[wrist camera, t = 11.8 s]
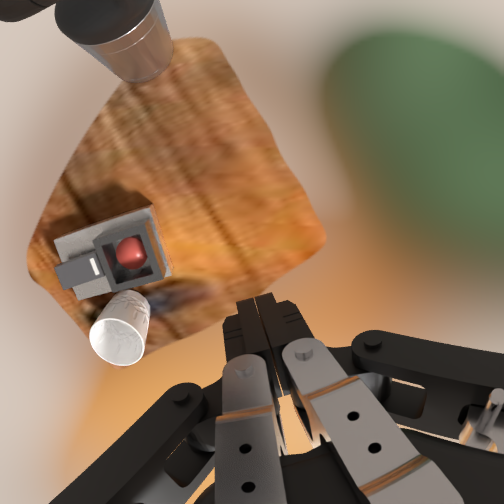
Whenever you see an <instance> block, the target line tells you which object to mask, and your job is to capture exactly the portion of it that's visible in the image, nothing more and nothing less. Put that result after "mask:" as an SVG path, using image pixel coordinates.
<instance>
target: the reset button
mask: <svg viewBox="0 0 504 504" xmlns="http://www.w3.org/2000/svg"><path fill="white" fill-rule="evenodd" d="M116 257H117V259H118V261H119V263H120V264H121V265H122V266H123V267H125V268H127V269H132V270H133V269H138V268H140V267H142V266H143V265H144V263H145V262H146V260H147V258H148V256H147V254H146V251H145V248H144V245H143V242H142V239H141V237H139V236H136V235H134V236H130V237H127V238H124V239H122V241H121V242H120V243H119V244H118V246H117V248H116Z"/></svg>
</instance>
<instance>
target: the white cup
mask: <svg viewBox="0 0 504 504" xmlns="http://www.w3.org/2000/svg"><path fill="white" fill-rule="evenodd" d="M149 317H150V306H149V304H148V302H147V300H146V298H145V297H144V296H142V295H141V294H140V293H139V292H136V291H133V290H122V291H119V292H118V293H117V294H115V295H114V296H113V298H112V299H111V301H110V302H109V303H108V304H107V305H106V307H105V308H104V309H103V311H102V312H101V314H100V315H99V317H98V318H97V320H96V321H95V323H94V324H93V326H92V327H91V330H90V334H89V338H90V343H91V345H92V347H93V349H94V351H95V352H96V353H97V354H98V355H99V356H100V357H101V358H102V359H104V360H106V361H107V362H109V363H112V364H115V365H120V366H126V365H131V364H134V363H136V362H137V361H138V360H140V358H141V357H142V355H143V353H144V348H145V342H146V337H147V332H148V325H149Z"/></svg>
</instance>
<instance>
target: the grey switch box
mask: <svg viewBox="0 0 504 504" xmlns="http://www.w3.org/2000/svg"><path fill="white" fill-rule="evenodd" d="M134 235H136V236H139V237H141V239H142V242H143V245H144V248H145V251H146V254H147V256H148V258H147V260H146V262H145V263H144V265H143V266H142V267H140V268H138V269H133V270H132V269H127V268H125V267H123V266H122V265H121V264H120V263H119V261H118V259H117V257H116V248H117V246H118V244H119V243H120V242H121V241H122V239H124V238H127V237H130V236H134ZM54 243H55V246H56V248H57V251H58V254H59V256H60V259H61V261H62V262H65V261H68V260H70V259H73V258H76V257H78V256H81V255H84V254H87V253H89V252H92V251H95V250H96V253H97V255H98V258H99V260H100V263H101V266H102V268H103V271H104V273H105V276H104V277H101V278H98V279H95V280H92V281H89V282H86V283H83V284H80V285H77V286H75V287H72V288H73V290H74V292H75V294H76V296H77V299H78V300H82V299H85V298H89V297H93V296H97V295H100V294H104V293H108V292H113V293H114V292H118V291H122V290H125V289H129V288H133V287H137V286H140V285H144V284H148V283H151V282H155V281H159V280H163V279H164V277H167V276H171V275H172V272H173V269H174V267H173V264H172V261H171V258H170V255H169V252H168V249H167V246H166V243H165V240H164V237H163V234H162V230H161V227H160V224H159V221H158V218H157V214H156V211H155V208H154V204H150V205H147V206H144V207H141V208H138V209H135V210H131V211H128V212H125V213H122V214H119V215H116V216H113V217H110V218H107V219H104V220H101V221H99V222H96V223H93V224H90V225H87V226H84V227H82V228H79V229H76V230H73V231H71V232H68V233H65V234H63V235H61V236H59V237H58V238H56V239H55V240H54Z"/></svg>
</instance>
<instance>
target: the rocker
mask: <svg viewBox="0 0 504 504" xmlns="http://www.w3.org/2000/svg"><path fill="white" fill-rule="evenodd" d="M54 269H55V271H56V274H57V276H58V278H59V281H60V283H61V285H62V288H63V290H66V289H69V288H72V287H75V286H77V285H80V284H83V283H86V282H89V281H92V280H95V279H98V278H101V277H104V276H105V273H104V271H103V268H102V266H101V263H100V260H99V258H98V255H97V253H96V250H95V251H92V252H89V253H87V254H84V255H81V256H78V257H76V258H73V259H70V260H68V261H65V262H62V263H60V264H57V265H56V266H55V267H54Z"/></svg>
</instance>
